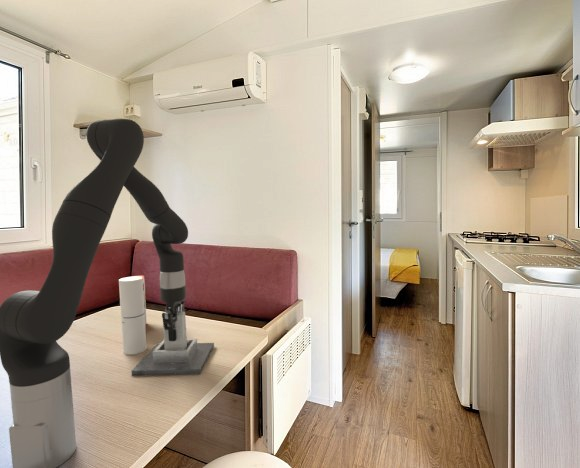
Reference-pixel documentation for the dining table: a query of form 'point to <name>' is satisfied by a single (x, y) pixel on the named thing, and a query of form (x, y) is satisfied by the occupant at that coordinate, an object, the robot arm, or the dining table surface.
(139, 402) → the dining table surface
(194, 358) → the duct plate
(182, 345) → the skincare box
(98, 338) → the dining table surface
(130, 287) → the cylindrical container
